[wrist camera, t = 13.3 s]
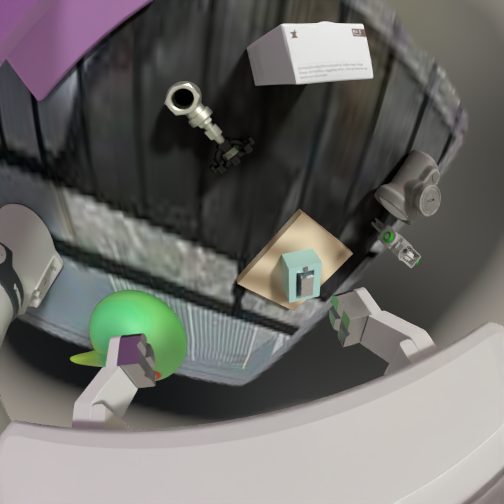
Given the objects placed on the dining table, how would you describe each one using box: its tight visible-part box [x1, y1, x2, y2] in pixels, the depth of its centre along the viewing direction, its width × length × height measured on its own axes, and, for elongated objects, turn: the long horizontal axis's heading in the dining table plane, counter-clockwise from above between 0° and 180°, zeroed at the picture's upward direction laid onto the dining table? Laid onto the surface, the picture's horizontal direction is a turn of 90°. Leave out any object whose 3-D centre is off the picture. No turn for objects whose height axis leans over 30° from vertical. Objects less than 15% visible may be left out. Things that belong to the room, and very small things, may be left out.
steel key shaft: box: [296, 271, 314, 298], centre depth 46 cm, size 4×2×5 cm, turn 6°
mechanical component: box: [371, 218, 421, 268], centre depth 44 cm, size 3×10×10 cm, turn 56°
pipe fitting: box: [374, 150, 441, 225], centre depth 39 cm, size 12×8×10 cm
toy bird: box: [70, 290, 187, 381], centre depth 43 cm, size 18×17×15 cm
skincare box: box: [247, 22, 373, 86], centre depth 24 cm, size 8×6×15 cm
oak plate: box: [236, 209, 353, 311], centre depth 49 cm, size 16×14×2 cm
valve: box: [165, 81, 256, 174], centre depth 30 cm, size 7×7×12 cm
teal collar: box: [282, 248, 322, 303], centre depth 46 cm, size 7×5×4 cm
